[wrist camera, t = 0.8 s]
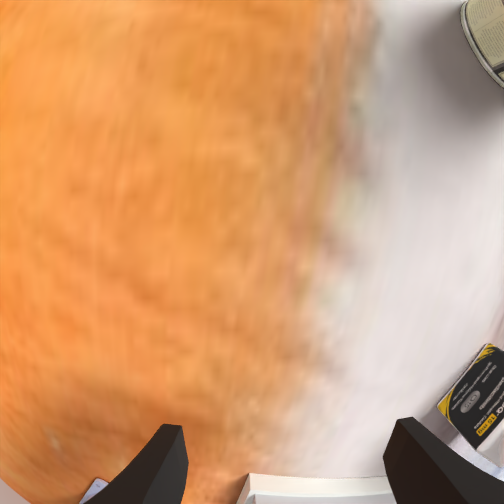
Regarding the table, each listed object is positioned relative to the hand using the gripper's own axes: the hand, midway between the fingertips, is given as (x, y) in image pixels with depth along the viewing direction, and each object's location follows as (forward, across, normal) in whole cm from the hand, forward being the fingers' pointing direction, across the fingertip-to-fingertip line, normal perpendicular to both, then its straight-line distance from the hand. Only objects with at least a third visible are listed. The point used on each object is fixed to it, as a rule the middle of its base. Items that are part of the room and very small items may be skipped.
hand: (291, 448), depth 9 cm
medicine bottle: (+11, -19, +8) cm, 24 cm away
